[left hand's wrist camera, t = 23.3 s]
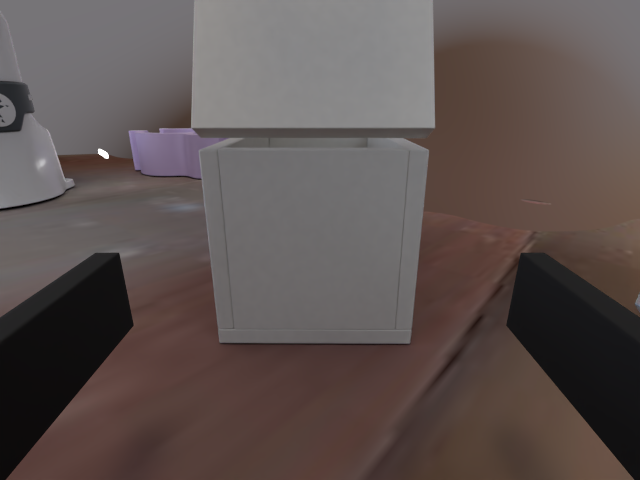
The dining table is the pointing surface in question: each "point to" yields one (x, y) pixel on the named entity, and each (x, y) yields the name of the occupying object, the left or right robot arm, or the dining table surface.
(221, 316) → the chest
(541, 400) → the dining table surface
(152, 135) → the clip
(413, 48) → the lid
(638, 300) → the electronic device
